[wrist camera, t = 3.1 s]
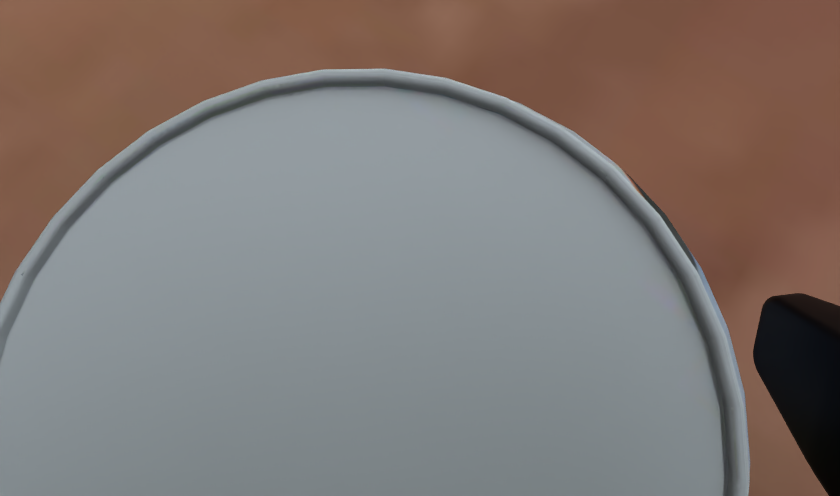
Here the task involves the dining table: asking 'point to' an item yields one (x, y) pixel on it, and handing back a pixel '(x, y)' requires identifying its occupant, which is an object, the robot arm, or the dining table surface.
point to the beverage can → (365, 311)
